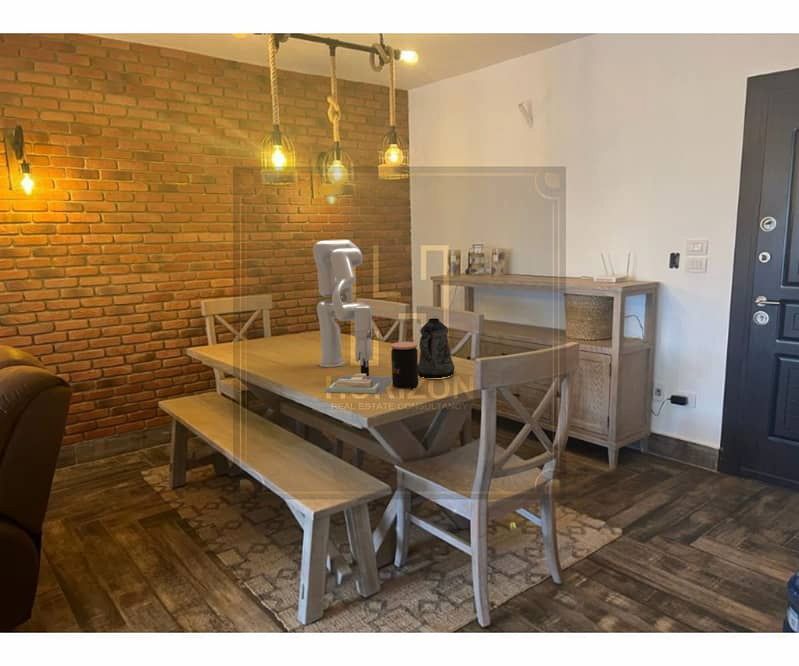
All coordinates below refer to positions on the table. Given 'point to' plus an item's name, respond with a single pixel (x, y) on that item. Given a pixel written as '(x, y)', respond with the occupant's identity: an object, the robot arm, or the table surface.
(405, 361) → the coffee jar
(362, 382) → the t block
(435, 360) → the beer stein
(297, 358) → the table surface
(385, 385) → the mat
